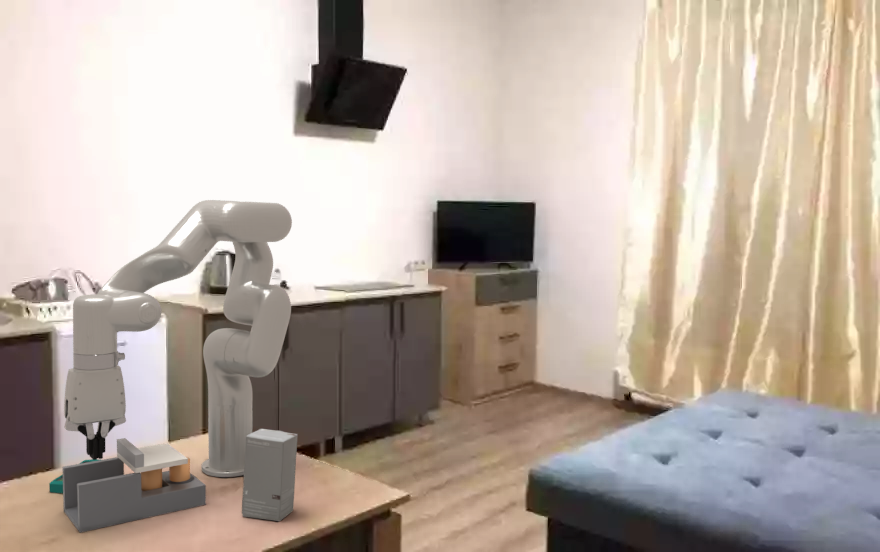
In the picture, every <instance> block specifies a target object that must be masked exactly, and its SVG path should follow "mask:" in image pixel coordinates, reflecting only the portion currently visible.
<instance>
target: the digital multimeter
mask: <svg viewBox="0 0 880 552" xmlns="http://www.w3.org/2000/svg"><path fill="white" fill-rule="evenodd" d="M98 460H100V459H99V458H98V459H96V460H93V459H92V458H91V459H85V460H83V461H81V462H80V463H78V464H81V463H87V462H92V461H98ZM48 484H49V487H48V488H49V489H48V491H49V492H50V493H52V494H53V493H55V494H63V474H61V475H60V476H58V477H56V478H54V479H53V480H51V481H50V482H49V483H48Z"/></svg>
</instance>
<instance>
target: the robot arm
mask: <svg viewBox="0 0 880 552" xmlns="http://www.w3.org/2000/svg"><path fill="white" fill-rule="evenodd" d="M292 223H293V220H292V216H291V213H290V211H289V209H287V208H286V206H284V205H282V204H281V203H278V202H264V201H263V202H258V201H238V200H236V201H235V200H221V199H220V200H216V199H215V200H214V199H207V200H201V201H198V202H197V203H196V204H194V205H193V206H192V207H191V208H190V209H189V211H188V212H187V213H186V214H185V215H184V216H183V217H182V219H181V220H179V221H178V223H176V225H175V226H174V227H173V228H172V229H171V231H170V232H169V233H168V234H167V235H166V236H165V237H164V239H163V240H162V241H161V242H160V243H159V244H157V245H156V246H155V247H153V248H150V250H147V251H146V252H144V253H143V254H141V255H139V256H137V257H136V258H133V260H131V261H129V262H128V263H126V264H125V265H124V266H122V267H120V268H119V270H117V271H116V272H115V273H114V274H112V276H111V277H110V278H109V279H108V280H107V281H106V283H105V284H104V285H103V286H102V287H101V288H100V290H99V291H98V292H97V293H96V294H85V295H79V296H77V297H76V298H75V299H74V300H73V303H72V338H73V339H72V341H73V342H72V347H73V348H72V351H73V352H72V356H73V357H72V358H73V361H72V363H73V364H72V367H73V368H69V369H68V371H67V375H66V380H65V388H64V389H65V390H64V403H63V414H64V415H63V416H64V418H65V423H64V429H65V430H67V431H68V432H79V433H81V434H82V435H83V436H85V437H86V438H85V439H86V442H85V443H86V444H85V445H86V446H85V447H86V454H87V456H89V458H91V459H93V460H96V459H99V460H103V459H104V453H106V438H107V437H108V435H109V433H110V432H111V431H112V430H113V429H114V428H115V427H117V426H119V425H122V424H125V423H126V422H127V419H126V412H127V411H126V410H127V409H126V408H127V405H126V401H127V400H126V391H125V384H124V383H125V382H124V377H123V372H122V367H121V365H119V362H120V361H124V360H125V359H126V354H125V352H120V351H118V333H119V332H132V333H133V332H134V333H137V332H145V331H148V330H150V329H153V327H155V326H156V325H157V324H158V323H159V321H160V320H161V317H162V306H161V304H160V302H159V301H158V300H157V298H155V297H154V296H153V295H151V294H148V293H145V292H147V291H148V290H149V291H150V290H151V289H152V288H155V287H156V286H158V285H161V284H164V283H167V282H171V281H174V280H177V279H180V278H183V277H185V276H188V275H190V274H191V273H193V272H194V271H195V270H196V268H197V267H198V266H199V265H200V263H201V262H202V261H203V260H204V259H205V258H206V256H207V255H208V253H210V252H211V250H212V249H213V248H214V247H215V245H216V244H217V243H219V242H230V243H232V245H233V248H234V254H235V258H234V259H235V260H234V266H233V268H232V269H233V270H232V272H231V275H230V280H229V283H228V286H227V289H226V293H225V296H224V301H223V305H222V307H223V309H222V311H223V315H224V316H225V317H226V319H227V320H228V321H231V322H233V323H236V324H241V325H246V326H251V329H250V331H249V330H246V329H239V328H229V327H225V328H218V329H216V330H213V331H212V332H210V334H209V335H207V337H206V339H205V341H204V343H203V348H202V350H203V351H202V352H203V353H202V354H203V355H202V356H203V361H204V366H205V371H206V376H207V389H208V390H207V392H208V393H207V396H208V397H207V400H208V401H207V402H208V403H207V404H208V405H207V408H208V409H207V410H208V411H207V414H208V417H207V418H208V422H207V423H208V425H207V426H208V431H207V433H208V434H207V435H208V458H207V459H206V460H204V461H203V462H202V463H201V467H200V468H201V472H203V473H204V474H205V475H207V476H210V477H211V476H212V477H217V478H233V477H242V476H244V464H245V446H246V436H247V435H249V434H251V433H253V386H252V385H253V384H252V382H251V379H250V378H251V377H253V378H264V377H267V376H268V375H270V373H271V372H273V370H274V369H275V368H276V366H277V364H278V361H279V358H280V357H281V356H280V355H281V352H282V349H283V345H284V341H285V337H286V335H287V330H288V326H289V323H290V320H291V314H292V304H291V303H292V302H291V298H290V296H289V294H288V292H287V291H286V290H285V289H284V288H283V287H280V286H278V285H275V284H270V282H271V278H272V274H273V268H274V257H273V254H272V250H271V248H270V246H269V244H268V243H276V242H280V241H282V240H284V239H285V238H286V237H287V236H288V234H289V233H290V231H291V229H292V225H293V224H292ZM95 423H97V428H96V429H97V430H96V432H95V430H94V429H95V428H94V425H93V424H95Z"/></svg>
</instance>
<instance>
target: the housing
mask: <svg viewBox="0 0 880 552" xmlns="http://www.w3.org/2000/svg"><path fill="white" fill-rule="evenodd" d="M186 457H187V458H188V464H182V465H177V466H172V467H168V470H165V471H162V488H157V489H152V490H147V491H142V490H141V472H140V473H134V472H132V473H131V472H130V473H126V474H125V463H124V462H122V461H121V460H120V459H119V458H118V457H117V456H116V457H111V458H110V457H109V458H106V459H105V458H103V459H99V460H98V461H92V462H87V463H81V462H80V463H81V464H79V463H75V464H70V465H65V466H62V475H63V493H62V495H63V497H62V499H63V500H62V501H63V513H64V514H65V515H66V517H68V519H69V520H70V522H71V523H72V524H73V526H74V527H75V528H76V529H77V531H78V532H79V533H85V532H89V531H94V530H98V529H103V528H107V527H111V526H116V525H120V524H124V523H125V524H126V523H129V522H133V521H139V520H143V519H147V518H151V517H156V516H159V515H161V516H162V515H164V514H169V513H174V512H178V511H183V510H188V509H191V508H196V507H200V506H204V505H207V495H206V493H207V492H206V491H207V489H206V487H207V486H206V484H205V483H204V482H202V481H201V480H200V479H199V478H197V477H196V476H195V475H194V474H192V473H191V458H190V457H188V456H186Z"/></svg>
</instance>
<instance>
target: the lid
mask: <svg viewBox="0 0 880 552" xmlns="http://www.w3.org/2000/svg"><path fill="white" fill-rule="evenodd" d="M116 457H118V458H119V459H120V460H121V461H122V462H124V465H126V466H127V467H128V468H129V469H130V470H131V471H132V473H141V472H145V471H151V470H156V469H161V468H162V469H167V468H169V467H172V466H177V465H182V464H188V458H187V457H188V456H185V455H184V454H183V453H181V452H180V451H179V450H178V449H176V448H174V447H173V446H172V445H171V444H169V443H168V442H166V443H160V444H152V445H149V446H148V445H147V446H142V447H136V446H135V445H134V444H133V443H132V442H131V441H129V440H128V439H127V438H126V437H124V438H116Z"/></svg>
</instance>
